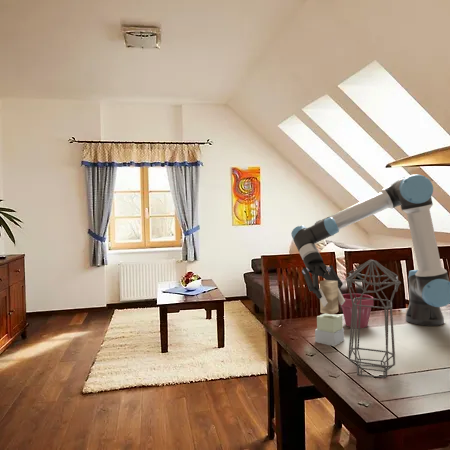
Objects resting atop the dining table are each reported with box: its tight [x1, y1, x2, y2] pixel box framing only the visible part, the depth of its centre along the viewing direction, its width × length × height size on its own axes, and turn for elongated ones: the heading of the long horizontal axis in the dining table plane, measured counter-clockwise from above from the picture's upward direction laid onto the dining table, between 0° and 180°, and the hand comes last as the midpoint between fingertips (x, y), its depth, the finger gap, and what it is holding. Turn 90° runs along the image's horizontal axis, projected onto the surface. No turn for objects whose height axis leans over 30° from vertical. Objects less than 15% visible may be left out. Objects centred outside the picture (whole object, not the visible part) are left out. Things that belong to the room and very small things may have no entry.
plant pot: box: [338, 293, 375, 329], centre depth 166 cm, size 14×14×13 cm
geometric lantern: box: [345, 259, 402, 379], centre depth 117 cm, size 16×16×35 cm
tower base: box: [314, 327, 345, 347], centre depth 147 cm, size 8×8×5 cm
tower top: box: [316, 313, 344, 333], centre depth 146 cm, size 7×7×5 cm
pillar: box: [319, 279, 340, 315], centre depth 146 cm, size 5×5×12 cm
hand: (334, 303), depth 143 cm, fingers closed on pillar, 7 cm apart
